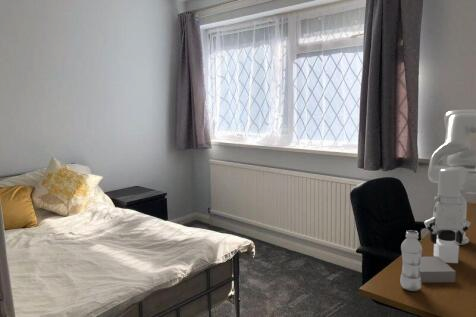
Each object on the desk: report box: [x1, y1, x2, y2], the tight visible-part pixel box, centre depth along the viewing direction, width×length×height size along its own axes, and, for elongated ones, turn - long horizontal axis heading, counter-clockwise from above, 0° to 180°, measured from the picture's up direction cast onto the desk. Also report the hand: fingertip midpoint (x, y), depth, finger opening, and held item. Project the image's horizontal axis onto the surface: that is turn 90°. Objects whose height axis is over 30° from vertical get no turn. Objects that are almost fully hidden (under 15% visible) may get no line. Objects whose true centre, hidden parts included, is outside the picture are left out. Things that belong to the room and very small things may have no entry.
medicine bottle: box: [433, 230, 460, 264], centre depth 153 cm, size 7×7×12 cm
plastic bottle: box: [399, 229, 423, 292], centre depth 130 cm, size 6×7×20 cm
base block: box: [420, 256, 457, 283], centre depth 141 cm, size 13×12×4 cm
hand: (446, 242), depth 152 cm, fingers open, 9 cm apart
